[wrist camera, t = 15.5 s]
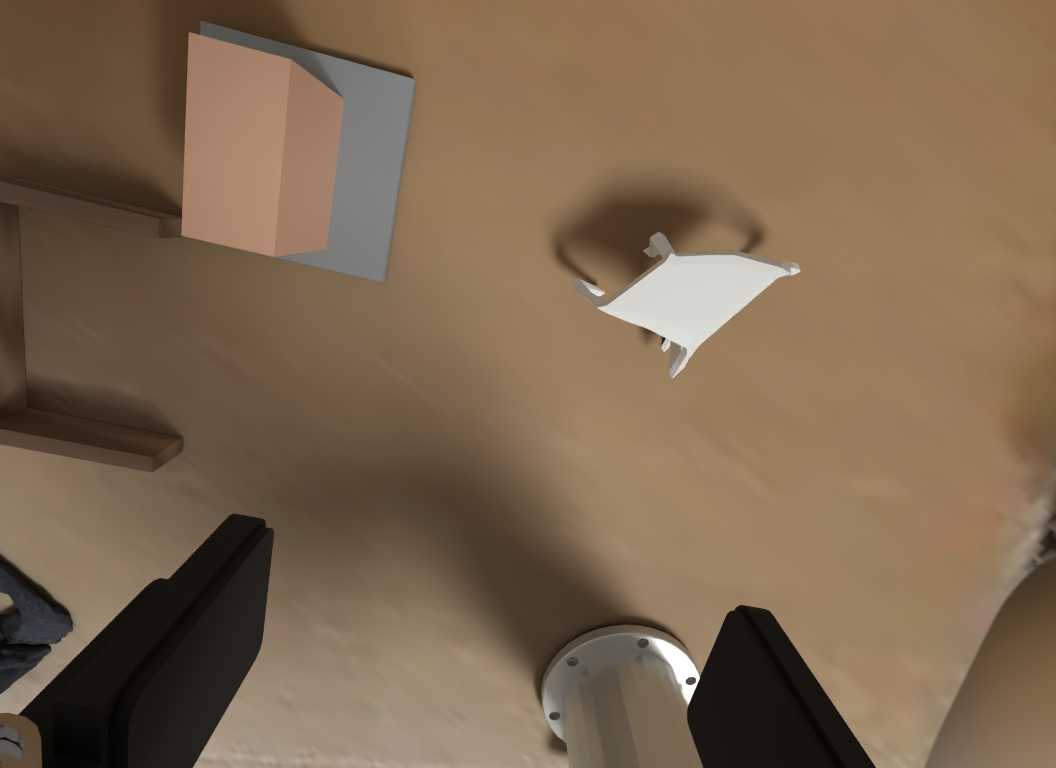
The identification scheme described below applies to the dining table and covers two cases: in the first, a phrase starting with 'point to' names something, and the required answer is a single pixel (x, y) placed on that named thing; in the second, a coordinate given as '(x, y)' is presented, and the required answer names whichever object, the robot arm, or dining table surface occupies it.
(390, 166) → the grey mat
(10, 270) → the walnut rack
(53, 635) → the dark slate chunk
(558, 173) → the dining table surface
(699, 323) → the white legged piece
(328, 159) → the terracotta block
